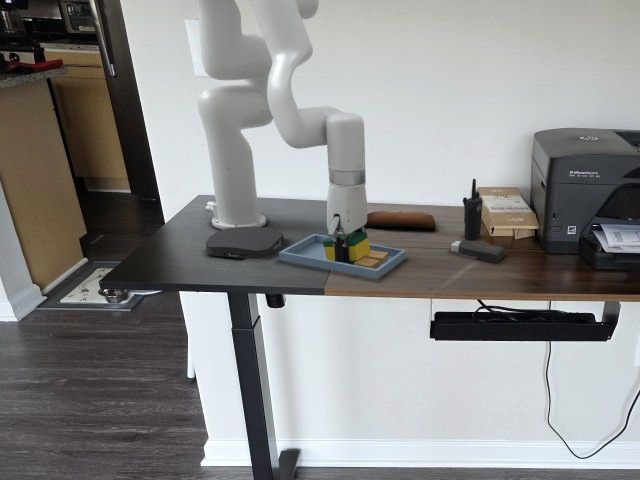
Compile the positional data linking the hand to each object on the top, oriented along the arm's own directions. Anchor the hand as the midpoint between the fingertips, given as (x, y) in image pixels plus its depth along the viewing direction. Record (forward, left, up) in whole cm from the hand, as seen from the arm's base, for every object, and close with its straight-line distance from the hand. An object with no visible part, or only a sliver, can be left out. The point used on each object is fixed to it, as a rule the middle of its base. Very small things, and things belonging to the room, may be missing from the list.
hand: (350, 257), depth 149 cm
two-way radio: (+17, +30, -1) cm, 35 cm away
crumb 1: (+5, -2, -1) cm, 6 cm away
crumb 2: (+5, +3, -1) cm, 6 cm away
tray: (-2, 0, -1) cm, 2 cm away
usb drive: (+23, +18, -1) cm, 30 cm away
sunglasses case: (-2, +29, -1) cm, 29 cm away
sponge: (0, 0, 0) cm, 0 cm away
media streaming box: (-25, -3, -1) cm, 25 cm away
